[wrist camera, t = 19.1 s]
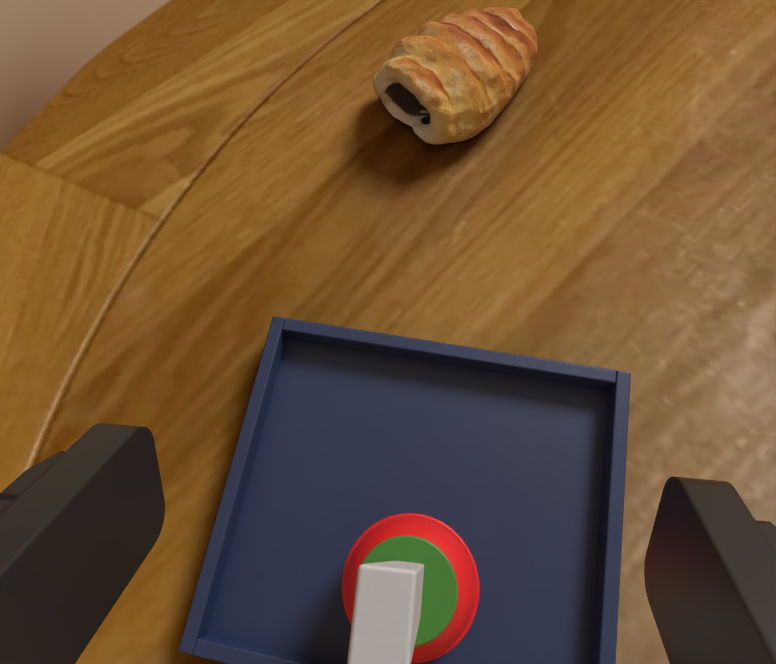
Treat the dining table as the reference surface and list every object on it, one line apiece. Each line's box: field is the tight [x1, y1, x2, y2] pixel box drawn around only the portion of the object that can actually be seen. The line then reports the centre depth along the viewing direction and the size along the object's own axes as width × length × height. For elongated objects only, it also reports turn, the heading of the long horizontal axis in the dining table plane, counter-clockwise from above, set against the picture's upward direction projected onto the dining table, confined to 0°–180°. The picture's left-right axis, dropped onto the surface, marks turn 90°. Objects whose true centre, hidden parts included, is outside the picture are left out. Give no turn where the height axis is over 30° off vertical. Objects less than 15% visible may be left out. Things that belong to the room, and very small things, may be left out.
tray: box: [179, 317, 631, 664], centre depth 25 cm, size 16×14×2 cm
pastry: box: [373, 7, 537, 144], centre depth 32 cm, size 9×7×4 cm
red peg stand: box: [342, 513, 480, 664], centre depth 17 cm, size 5×5×15 cm
